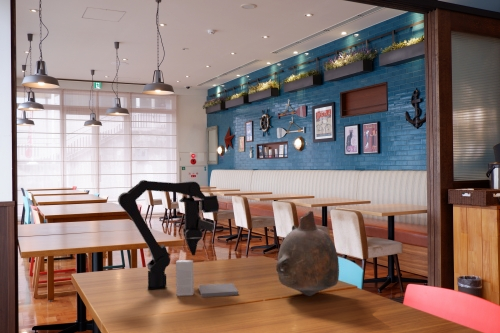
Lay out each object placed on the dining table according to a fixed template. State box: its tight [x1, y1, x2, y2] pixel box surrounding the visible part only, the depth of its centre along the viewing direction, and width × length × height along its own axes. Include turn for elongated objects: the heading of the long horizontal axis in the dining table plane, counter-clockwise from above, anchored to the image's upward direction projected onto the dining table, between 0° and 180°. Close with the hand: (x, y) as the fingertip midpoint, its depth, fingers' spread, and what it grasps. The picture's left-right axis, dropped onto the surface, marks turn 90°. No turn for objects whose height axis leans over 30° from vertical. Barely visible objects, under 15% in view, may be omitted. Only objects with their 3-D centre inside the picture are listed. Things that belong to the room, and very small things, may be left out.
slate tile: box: [198, 282, 239, 298], centre depth 181 cm, size 13×13×1 cm
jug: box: [275, 210, 340, 297], centre depth 173 cm, size 24×21×30 cm
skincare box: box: [175, 259, 195, 297], centre depth 177 cm, size 6×4×12 cm
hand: (192, 253), depth 193 cm, fingers open, 9 cm apart
